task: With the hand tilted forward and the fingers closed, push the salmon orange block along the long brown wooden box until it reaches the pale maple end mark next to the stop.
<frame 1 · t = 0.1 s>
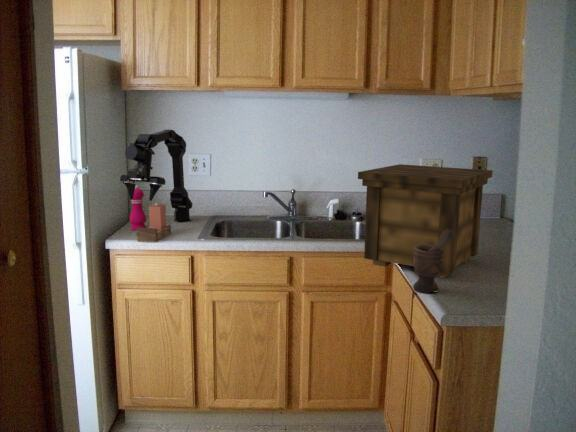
hand: (140, 200, 219), 15 cm above the worktop, tool pointing down, fingers open, 9 cm apart
pepper mill: (138, 229, 235), on the worktop
mortar and pestle: (431, 291, 156), on the worktop
brown wooden box: (158, 234, 224), on the worktop
salmon orange block: (157, 215, 223), point 8 cm above the worktop, slide at 0.0 cm
crate: (421, 262, 186), on the worktop
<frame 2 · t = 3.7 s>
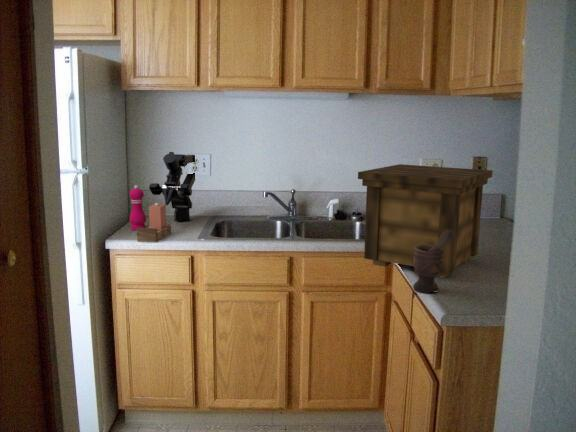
hand: (166, 204, 232), 11 cm above the worktop, tool tilted 45°, fingers closed
nothing on the worktop moved.
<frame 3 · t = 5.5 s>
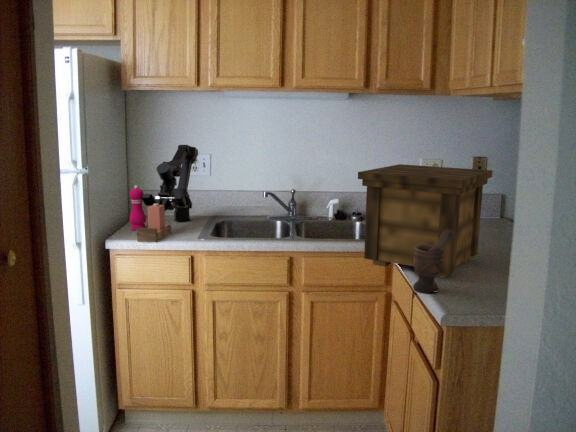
hand: (159, 216, 225), 8 cm above the worktop, tool tilted 45°, fingers closed, pressing on salmon orange block
salmon orange block: (156, 216, 222), point 8 cm above the worktop, slide at 1.4 cm, touching gripper
everything else where it was.
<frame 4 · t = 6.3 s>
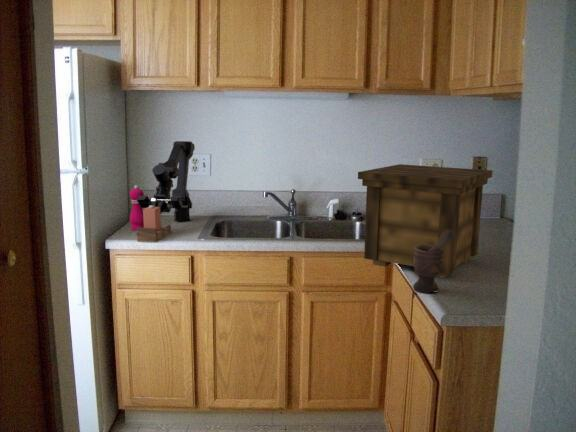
hand: (155, 218, 220), 8 cm above the worktop, tool tilted 45°, fingers closed, pressing on salmon orange block
salmon orange block: (152, 218, 217), point 8 cm above the worktop, slide at 6.1 cm, touching gripper
everything else where it was.
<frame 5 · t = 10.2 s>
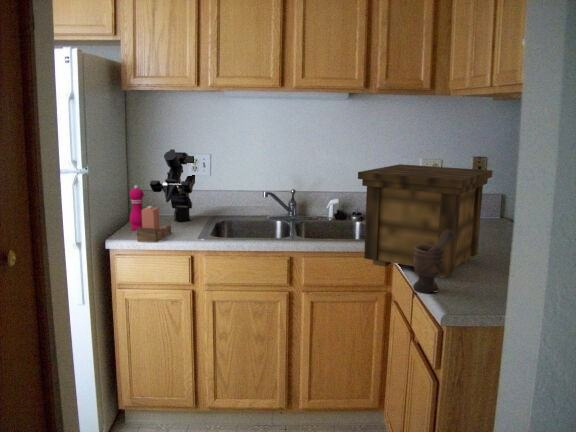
hand: (167, 201, 233), 13 cm above the worktop, tool tilted 45°, fingers closed
salmon orange block: (150, 219, 215), point 8 cm above the worktop, slide at 7.5 cm
everything else where it was.
at the end: salmon orange block slide at 7.5 cm; salmon orange block moved 7.5 cm from its start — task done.
